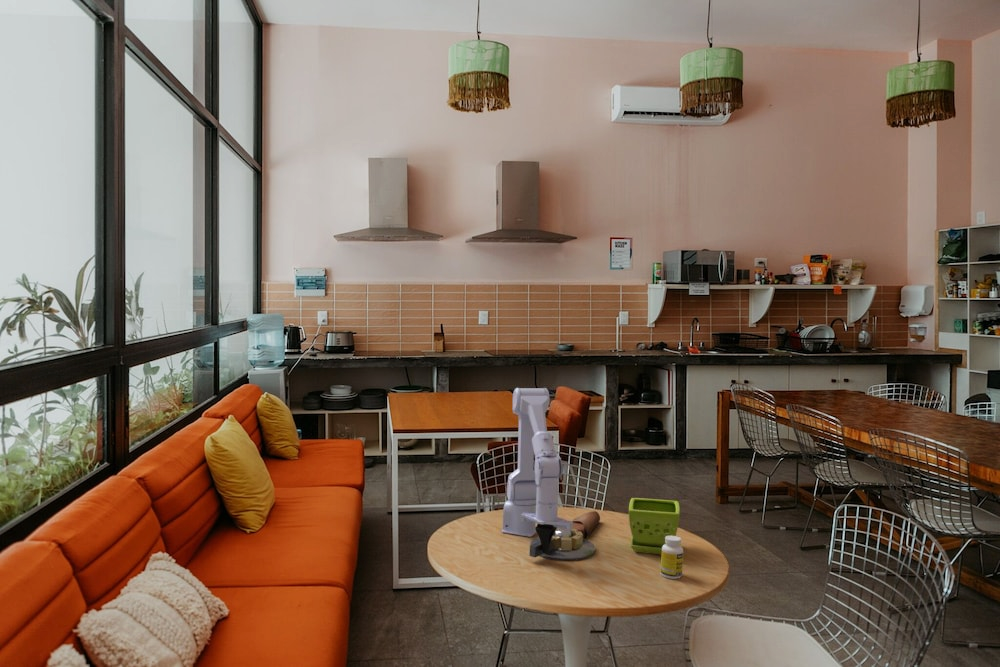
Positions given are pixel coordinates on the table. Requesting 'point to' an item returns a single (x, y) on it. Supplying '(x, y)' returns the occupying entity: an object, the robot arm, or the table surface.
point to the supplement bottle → (672, 558)
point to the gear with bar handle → (559, 543)
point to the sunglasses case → (586, 523)
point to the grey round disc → (573, 554)
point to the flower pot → (652, 523)
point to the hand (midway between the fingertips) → (545, 551)
